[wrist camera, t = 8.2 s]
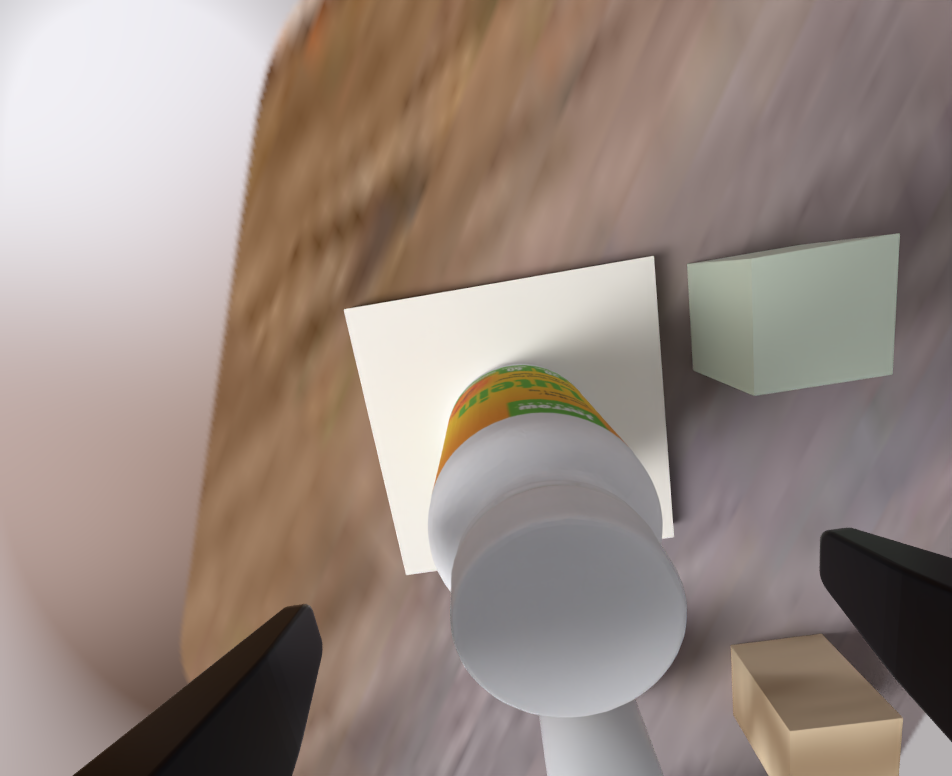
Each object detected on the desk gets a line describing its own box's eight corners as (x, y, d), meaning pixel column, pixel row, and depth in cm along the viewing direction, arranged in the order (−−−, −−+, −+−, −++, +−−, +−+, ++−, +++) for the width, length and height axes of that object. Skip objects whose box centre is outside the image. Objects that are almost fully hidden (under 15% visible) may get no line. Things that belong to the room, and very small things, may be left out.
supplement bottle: (573, 344, 16) (710, 437, 7) (602, 478, 17) (752, 718, 8) (430, 381, 16) (363, 520, 7) (468, 509, 18) (455, 776, 8)
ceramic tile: (665, 526, 18) (674, 537, 18) (409, 563, 19) (406, 574, 18) (645, 257, 16) (654, 256, 15) (350, 308, 17) (343, 309, 16)
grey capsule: (623, 694, 21) (680, 857, 15) (538, 705, 21) (561, 870, 15) (615, 623, 20) (672, 767, 14) (526, 635, 20) (546, 781, 14)
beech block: (818, 702, 21) (896, 800, 17) (732, 713, 21) (789, 812, 17) (820, 632, 20) (903, 718, 16) (729, 643, 20) (789, 731, 16)
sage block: (797, 352, 17) (892, 374, 13) (691, 369, 17) (754, 396, 13) (797, 245, 16) (900, 233, 12) (686, 263, 16) (751, 258, 12)
